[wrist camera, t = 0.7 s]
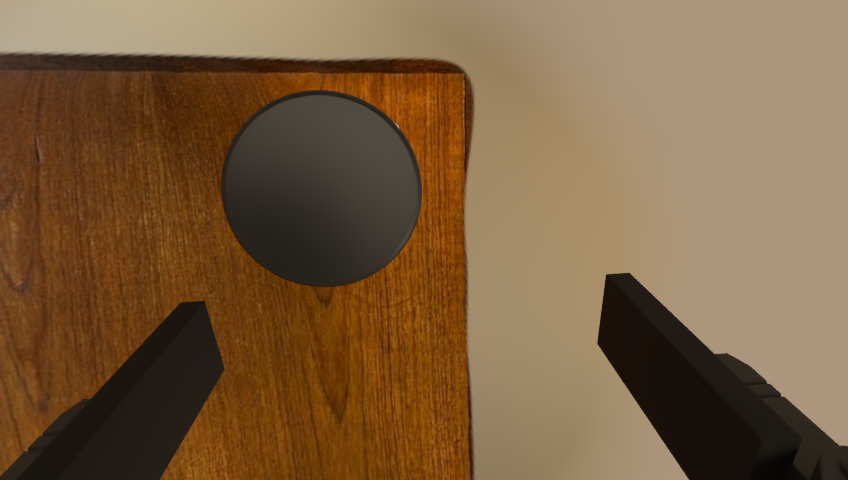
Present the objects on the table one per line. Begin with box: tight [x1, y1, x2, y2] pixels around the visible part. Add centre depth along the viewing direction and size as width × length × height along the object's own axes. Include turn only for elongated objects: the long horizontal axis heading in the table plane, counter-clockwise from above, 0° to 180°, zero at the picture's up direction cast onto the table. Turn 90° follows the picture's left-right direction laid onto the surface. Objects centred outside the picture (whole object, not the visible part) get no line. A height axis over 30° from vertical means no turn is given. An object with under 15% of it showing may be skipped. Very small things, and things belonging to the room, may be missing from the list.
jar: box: [221, 90, 422, 287], centre depth 23 cm, size 9×8×12 cm
